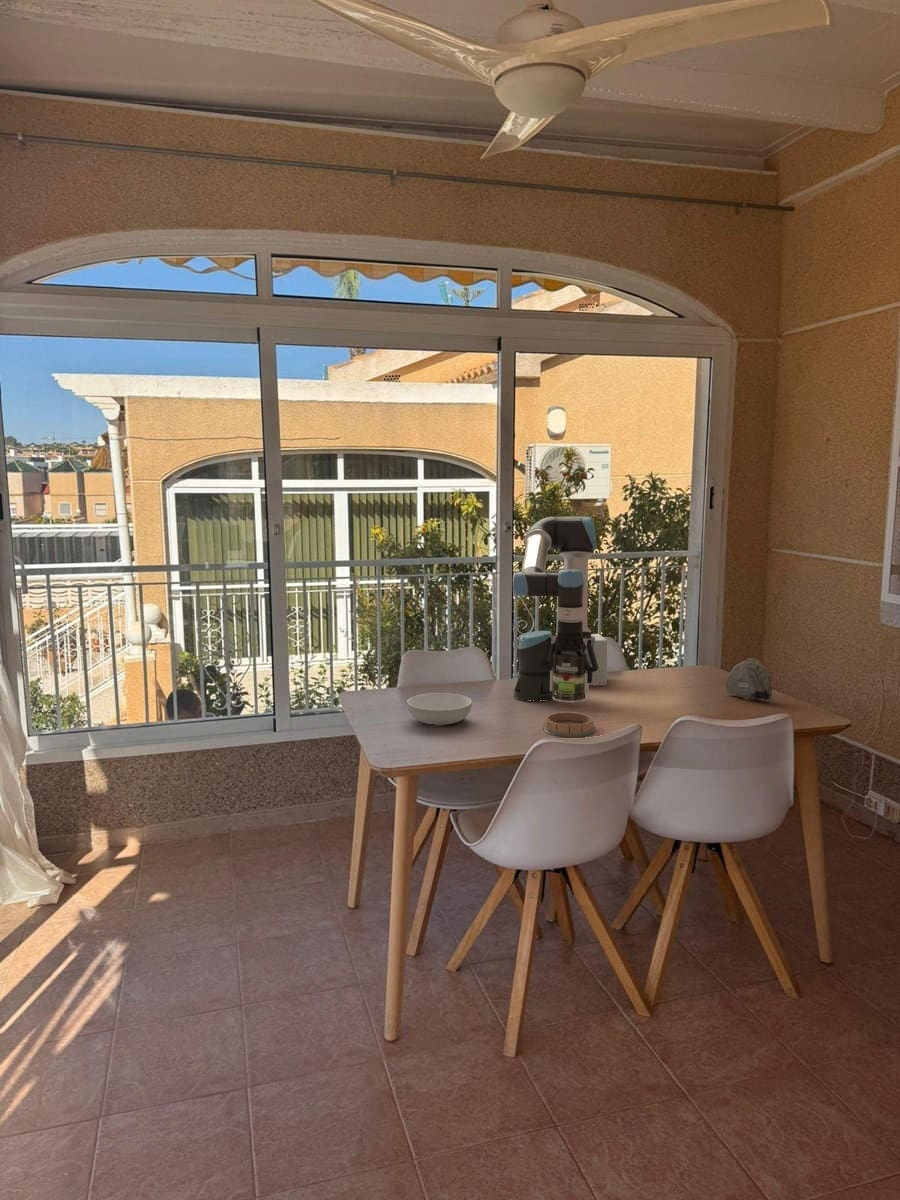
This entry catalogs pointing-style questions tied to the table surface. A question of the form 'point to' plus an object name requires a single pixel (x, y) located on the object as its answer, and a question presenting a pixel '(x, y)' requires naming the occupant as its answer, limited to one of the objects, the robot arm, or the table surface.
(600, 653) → the supplement box
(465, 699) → the serving bowl
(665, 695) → the table surface
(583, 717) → the collar
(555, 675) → the coffee can
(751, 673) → the decorative rock
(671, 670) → the table surface
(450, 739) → the table surface
